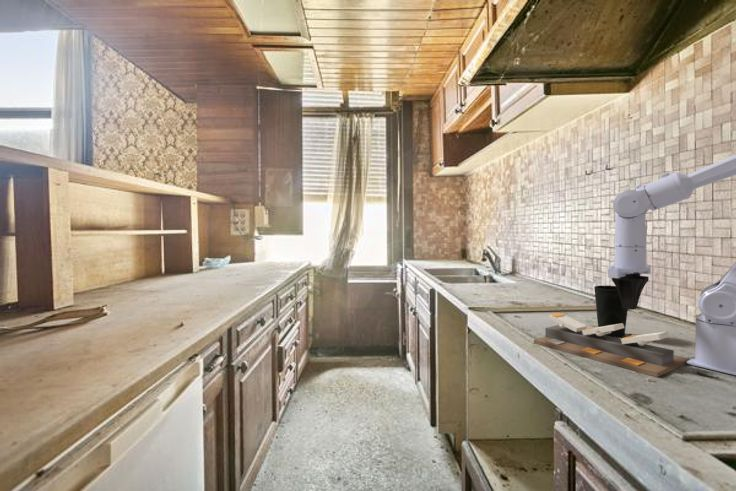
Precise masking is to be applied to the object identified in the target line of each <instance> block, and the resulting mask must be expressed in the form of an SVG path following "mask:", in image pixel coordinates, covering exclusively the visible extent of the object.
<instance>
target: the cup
mask: <svg viewBox="0 0 736 491" xmlns="http://www.w3.org/2000/svg"><path fill="white" fill-rule="evenodd" d="M593 288H594V289H593V290H594V299H595V308H596V317H597V320H596V321H597V327H602V326H608V325H615V324H621V323H623V325H624V327H625V328H622V329H619V330H615V331H611V333H609V334H606V336H610V337H615V338H624V337H626V335H625V334H626V329H627V328H626V327H627V319H628V310H629V309H625V308H623V306H622V303H621V299H620V295H619V292H618V290H617V288H616V286H615V285H595V286H594V287H593Z"/></svg>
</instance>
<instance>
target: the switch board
mask: <svg viewBox="0 0 736 491" xmlns="http://www.w3.org/2000/svg"><path fill="white" fill-rule="evenodd" d="M544 329H545V331H544V332H545V335H544V336H543V337H540V338H536V339H533V344H535V345H539V346H543V347H546V348H550V349H554V350H557V351H561V352H565V353H569V354H572V355H576V356H579V357H583V358H587V359H590V360H594V361H597V362H601V363H604V364H608V365H611V364H612V366H615V365H617V366H616V367H619V366H620V367H619V368H622V367H623V369H626V368H627V369H626V370H629V369H630V371H633V370H634V371H633V372H638V373H641V374H645V375H648V376H651V377H655V378H658V377H661V376H663V375H665V374H667V373H669V372H672V371H674V370H676V369H678V368H680V367H682V366H685V365H688V364H687V363H686V361H688V360H690V358H689V357H685V356H684V357H683V356H680V355H675V354H674V353H675V352H674V351H675V350H674V349H671V348H666V347H660V346H656V345H652V344H645V345H642V346H641V345H639V344H638V343H637V342H636V343H627V344H622V341H621V339H622V338H621V337H610V336H606V335H602V336H597V335H596V333H595V334H588V335H583V333H582V331H583V330H582V331H579V332H575V331H573V330H571V329H569V328H567V327H565V328H561V327H560V326H559V324H557V325H553V326H548V327H545V328H544Z"/></svg>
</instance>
